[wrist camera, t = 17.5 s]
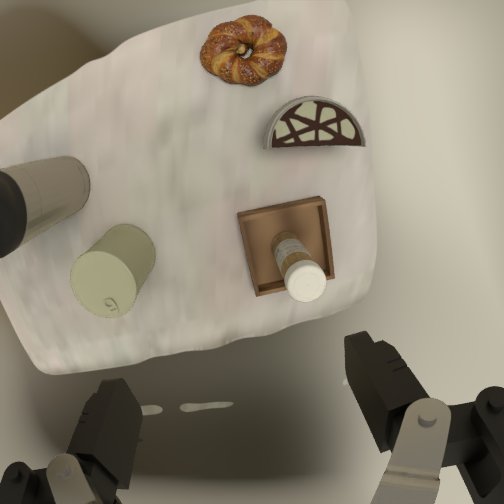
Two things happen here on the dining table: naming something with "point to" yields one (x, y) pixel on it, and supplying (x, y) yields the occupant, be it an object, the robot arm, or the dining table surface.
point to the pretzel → (244, 50)
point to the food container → (313, 124)
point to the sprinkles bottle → (298, 268)
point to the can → (113, 271)
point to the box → (275, 222)
